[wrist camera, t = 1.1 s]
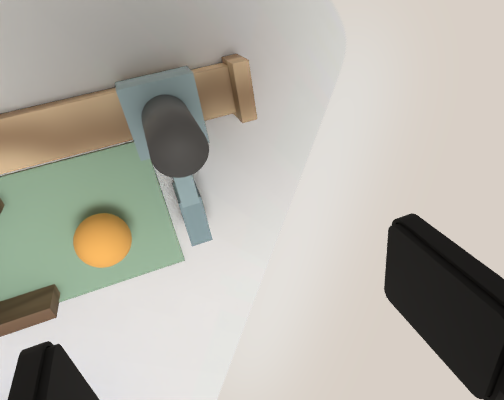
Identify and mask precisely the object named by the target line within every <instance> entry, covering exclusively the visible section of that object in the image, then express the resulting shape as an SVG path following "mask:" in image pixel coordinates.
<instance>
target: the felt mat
mask: <svg viewBox="0 0 504 400" xmlns="http://www.w3.org/2000/svg"><path fill="white" fill-rule="evenodd" d="M0 198H1V200H2V201H3V203H4V205H5V206H4V208H3V210H2V212H1V214H0V301H3V300H6V299H10V298H13V297H16V296H19V295H22V294H25V293H28V292H31V291H34V290H37V289H40V288H43V287H47V286H50V285H53V284H55V285H56V287H57V288H58V290H59V292H60V299H59V302H62V301H65V300H68V299H71V298H74V297H77V296H80V295H83V294H86V293H89V292H92V291H95V290H98V289H101V288H104V287H107V286H110V285H113V284H116V283H119V282H122V281H125V280H128V279H131V278H134V277H137V276H140V275H143V274H146V273H149V272H152V271H155V270H158V269H161V268H164V267H167V266H170V265H173V264H176V263H179V262H182V261H185V260H184V257H183V254H182V251H181V248H180V245H179V242H178V239H177V236H176V233H175V230H174V227H173V224H172V221H171V218H170V215H169V212H168V210H167V207H166V204H165V201H164V198H163V195H162V192H161V189H160V186H159V183H158V180H157V177H156V174H155V171H154V168H153V165H152V162H151V159H147V160H143V161H141V160H140V157H139V154H138V152H137V149H136V146H135V143H134V142H130V143H126V144H122V145H119V146H115V147H111V148H107V149H103V150H100V151H96V152H92V153H88V154H84V155H81V156H77V157H73V158H69V159H65V160H62V161H58V162H54V163H50V164H46V165H43V166H39V167H35V168H31V169H27V170H23V171H20V172H16V173H12V174H8V175H4V176H1V177H0ZM99 213H108V214H113V215H115V216H118V217H119V218H121V219H122V220H123V221H124V222H125V223H126V224H127V225H128V227H129V229H130V231H131V235H132V243H131V247H130V250H129V252H128V254H127V255H126V256H125V258H124V259H123V260H121V261H120V262H119V263H117V264H115V265H113V266H110V267H105V268H97V267H93V266H90V265H88V264H86V263H84V262H83V261H82V260H81V259H80V258H79V257H78V256H77V254H76V252H75V250H74V246H73V237H74V234H75V231H76V229H77V227H78V226H79V224H80V223H81V222H82V221H83V220H85V219H86V218H88V217H90V216H92V215H95V214H99Z"/></svg>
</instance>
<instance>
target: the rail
mask: <svg viewBox="0 0 504 400" xmlns="http://www.w3.org/2000/svg"><path fill="white" fill-rule="evenodd" d="M222 61H223V63H219V64H214V65H210V66H206V67H201V68H197V69H193V70H191V71H192V72H193V74H194V78H195V83H196V87H197V91H198V96H199V100H200V104H201V109H202V113H203V117H204V121H206V120H210V119H214V118H217V117H221V116H225V115H229V114H234V115H235V116H236V117H237V118H238V119H239V120H240V121H241V122H242V123H245V122H249V121H252V120H256V119H257V114H256V107H255V101H254V94H253V87H252V80H251V73H250V67H249V60H247V59H245V58H244V57H242V56H240V55H238V54H234V55H229V56H225V57H222ZM130 140H133V138H132V135H131V132H130V129H129V126H128V123H127V121H126V118H125V115H124V112H123V109H122V107H121V104H120V101H119V98H118V95H117V92H116V87H115V88H111V89H106V90H102V91H98V92H93V93H89V94H85V95H81V96H76V97H72V98H68V99H63V100H59V101H55V102H50V103H46V104H42V105H37V106H33V107H29V108H24V109H20V110H16V111H11V112H7V113H3V114H0V174H3V173H7V172H11V171H15V170H19V169H22V168H26V167H30V166H34V165H38V164H42V163H45V162H49V161H53V160H57V159H61V158H64V157H68V156H72V155H76V154H80V153H84V152H87V151H91V150H95V149H99V148H103V147H107V146H110V145H114V144H118V143H122V142H126V141H130Z"/></svg>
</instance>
